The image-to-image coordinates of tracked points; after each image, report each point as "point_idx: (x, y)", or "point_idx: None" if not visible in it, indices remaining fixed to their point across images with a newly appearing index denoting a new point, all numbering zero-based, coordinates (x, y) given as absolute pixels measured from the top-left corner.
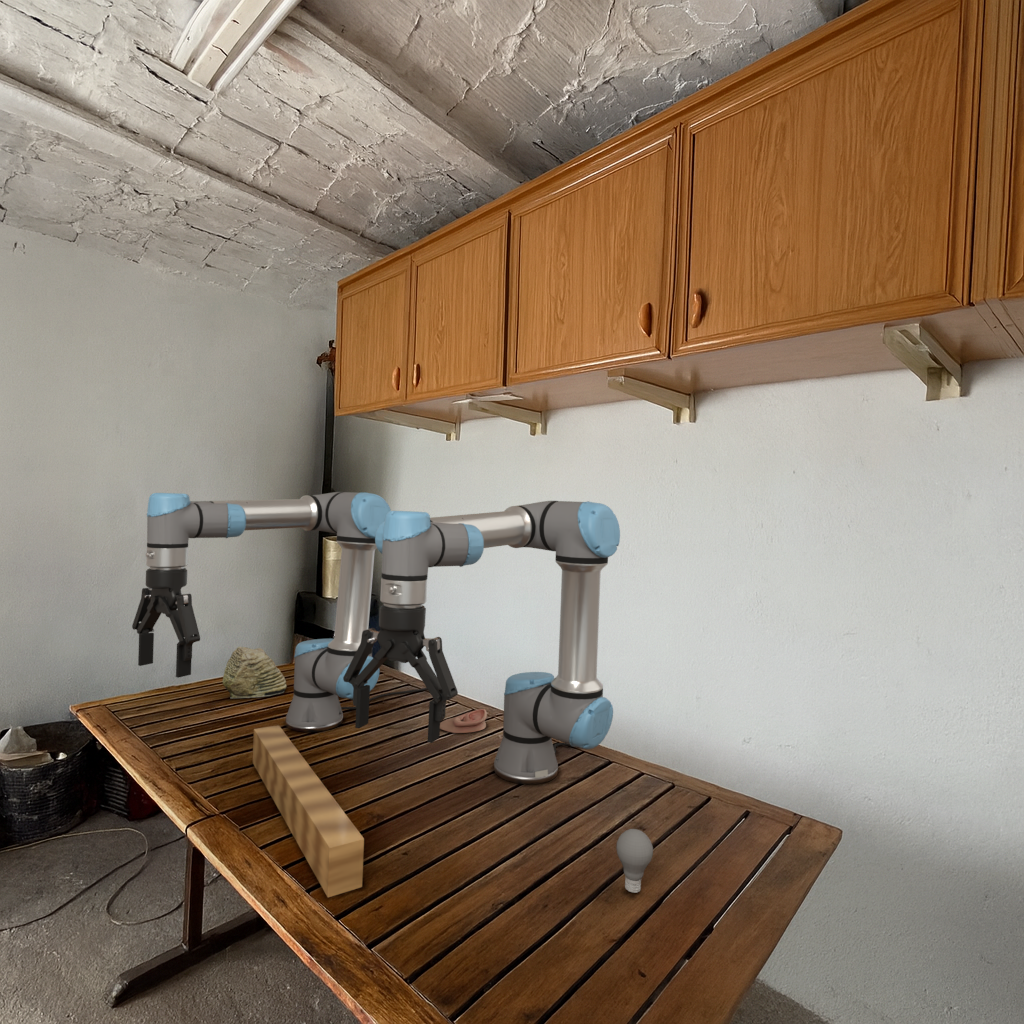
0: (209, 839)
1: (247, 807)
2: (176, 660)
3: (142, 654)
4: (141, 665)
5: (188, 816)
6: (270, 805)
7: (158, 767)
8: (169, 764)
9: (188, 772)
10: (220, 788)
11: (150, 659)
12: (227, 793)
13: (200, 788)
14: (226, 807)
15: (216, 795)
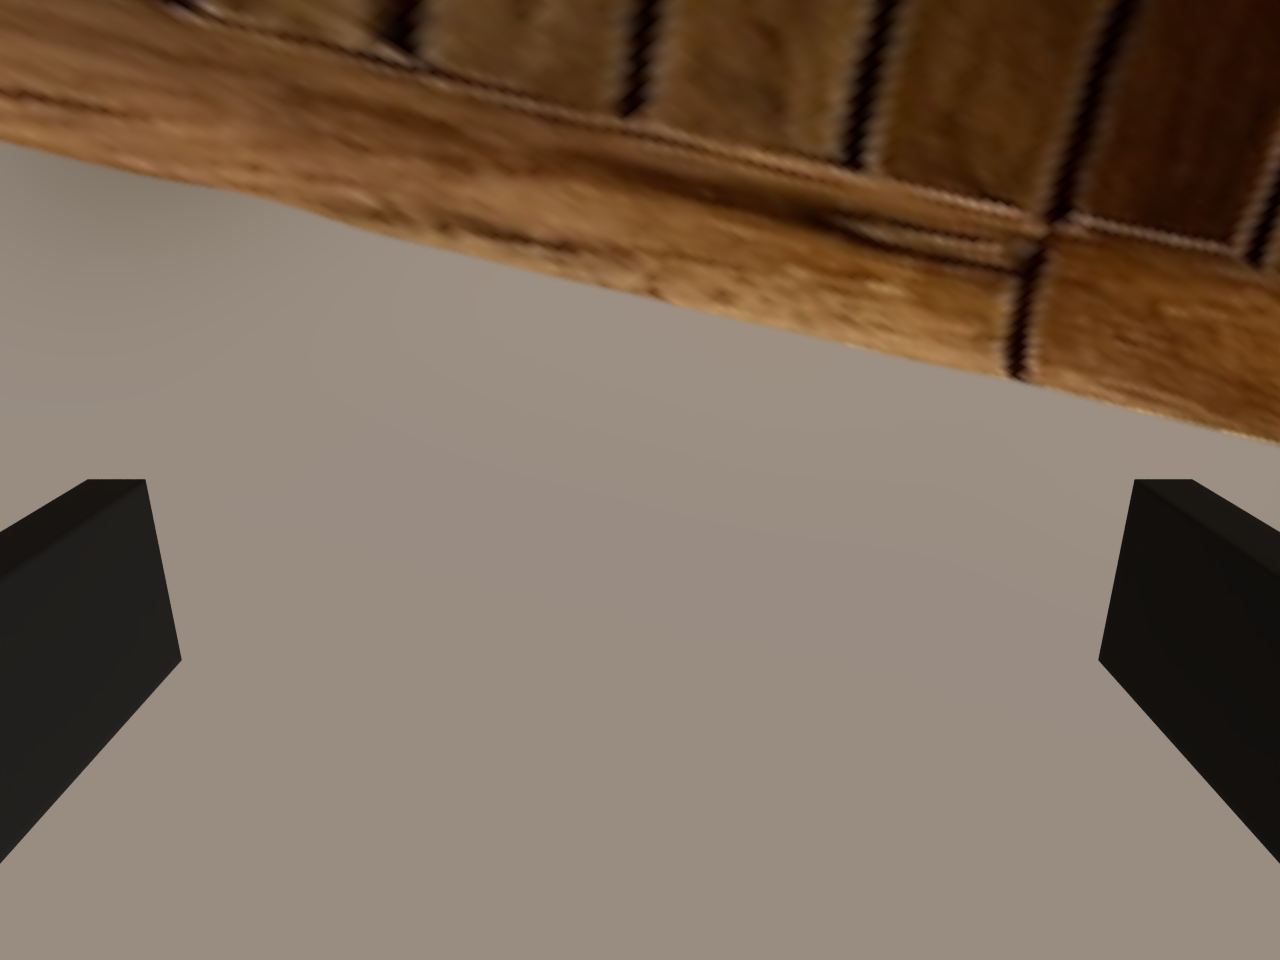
0: (1189, 392)
1: (1128, 99)
2: (1248, 825)
3: (75, 735)
4: (177, 644)
5: (944, 330)
6: (1225, 5)
7: (293, 97)
8: (296, 29)
9: (491, 27)
10: (827, 44)
11: (113, 548)
12: (910, 60)
13: (736, 115)
14: (1031, 166)
15: (879, 113)
